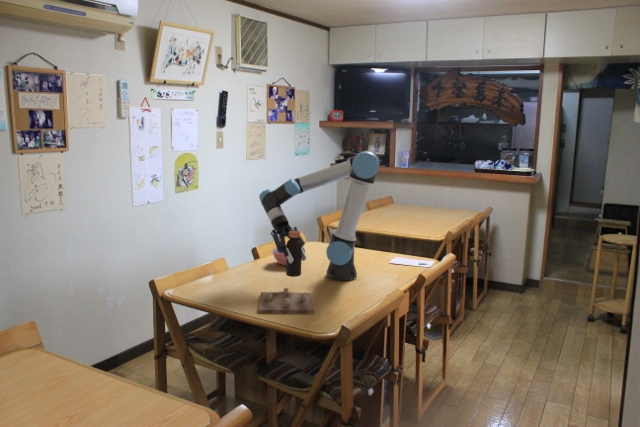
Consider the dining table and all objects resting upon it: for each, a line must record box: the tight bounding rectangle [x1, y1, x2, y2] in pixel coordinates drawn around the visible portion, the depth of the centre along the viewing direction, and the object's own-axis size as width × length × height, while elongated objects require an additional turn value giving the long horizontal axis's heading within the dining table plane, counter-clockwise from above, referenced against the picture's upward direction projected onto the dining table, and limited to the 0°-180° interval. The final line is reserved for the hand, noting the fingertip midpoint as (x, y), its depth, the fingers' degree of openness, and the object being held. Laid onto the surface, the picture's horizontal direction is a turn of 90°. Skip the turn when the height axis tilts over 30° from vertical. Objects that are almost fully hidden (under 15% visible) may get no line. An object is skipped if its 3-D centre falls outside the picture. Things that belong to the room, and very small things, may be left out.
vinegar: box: [285, 230, 302, 278], centre depth 242 cm, size 7×7×20 cm
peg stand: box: [258, 287, 315, 315], centre depth 224 cm, size 22×22×4 cm
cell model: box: [271, 246, 306, 267], centre depth 287 cm, size 17×20×11 cm
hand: (298, 260), depth 240 cm, fingers closed on vinegar, 7 cm apart
